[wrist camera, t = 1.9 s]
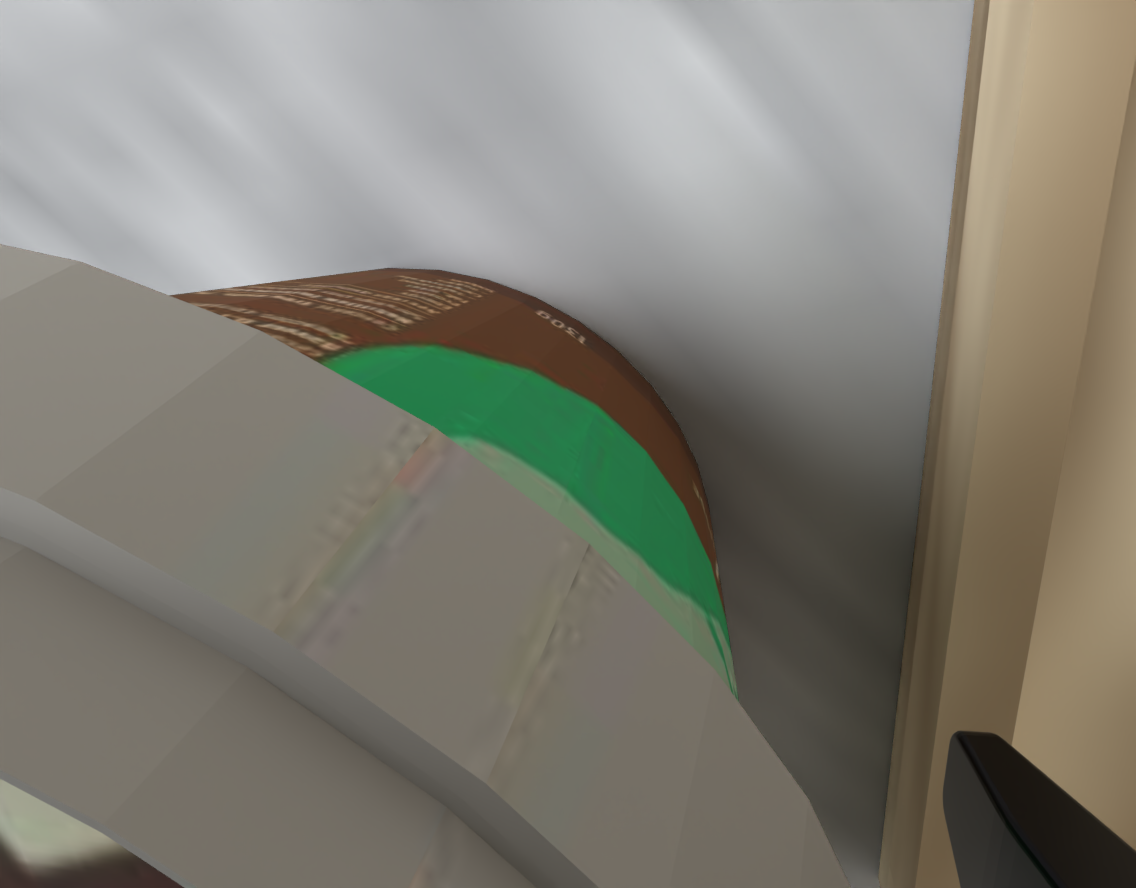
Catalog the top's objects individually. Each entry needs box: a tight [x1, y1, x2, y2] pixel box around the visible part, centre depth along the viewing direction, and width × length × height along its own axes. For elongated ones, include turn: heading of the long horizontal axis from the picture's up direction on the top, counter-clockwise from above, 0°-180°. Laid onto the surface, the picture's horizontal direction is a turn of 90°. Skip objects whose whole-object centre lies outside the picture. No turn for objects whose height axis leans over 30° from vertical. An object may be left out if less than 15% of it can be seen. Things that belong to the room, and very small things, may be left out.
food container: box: [0, 244, 851, 888], centre depth 8 cm, size 12×6×10 cm, turn 3°
